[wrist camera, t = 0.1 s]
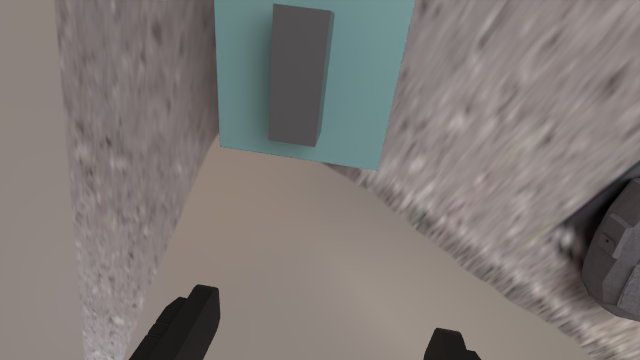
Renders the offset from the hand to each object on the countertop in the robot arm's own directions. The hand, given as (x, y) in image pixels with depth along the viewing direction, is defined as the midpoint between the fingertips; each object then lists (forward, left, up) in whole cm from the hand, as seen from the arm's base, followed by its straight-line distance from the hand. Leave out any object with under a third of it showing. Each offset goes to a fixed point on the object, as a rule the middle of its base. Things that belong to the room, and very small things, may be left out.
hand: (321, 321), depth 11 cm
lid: (-6, -5, -21) cm, 22 cm away
